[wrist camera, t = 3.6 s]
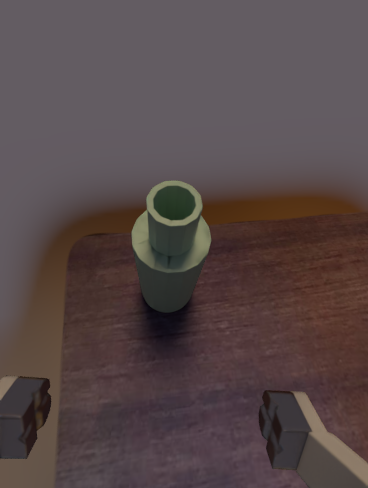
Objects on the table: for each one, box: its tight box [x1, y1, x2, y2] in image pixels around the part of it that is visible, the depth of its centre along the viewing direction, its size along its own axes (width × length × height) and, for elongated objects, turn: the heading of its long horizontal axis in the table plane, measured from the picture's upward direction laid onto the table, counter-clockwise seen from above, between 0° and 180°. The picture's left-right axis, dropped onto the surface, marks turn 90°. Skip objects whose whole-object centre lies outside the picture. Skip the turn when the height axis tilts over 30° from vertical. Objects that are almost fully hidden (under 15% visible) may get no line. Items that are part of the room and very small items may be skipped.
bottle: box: [132, 181, 211, 313], centre depth 22 cm, size 6×6×16 cm
